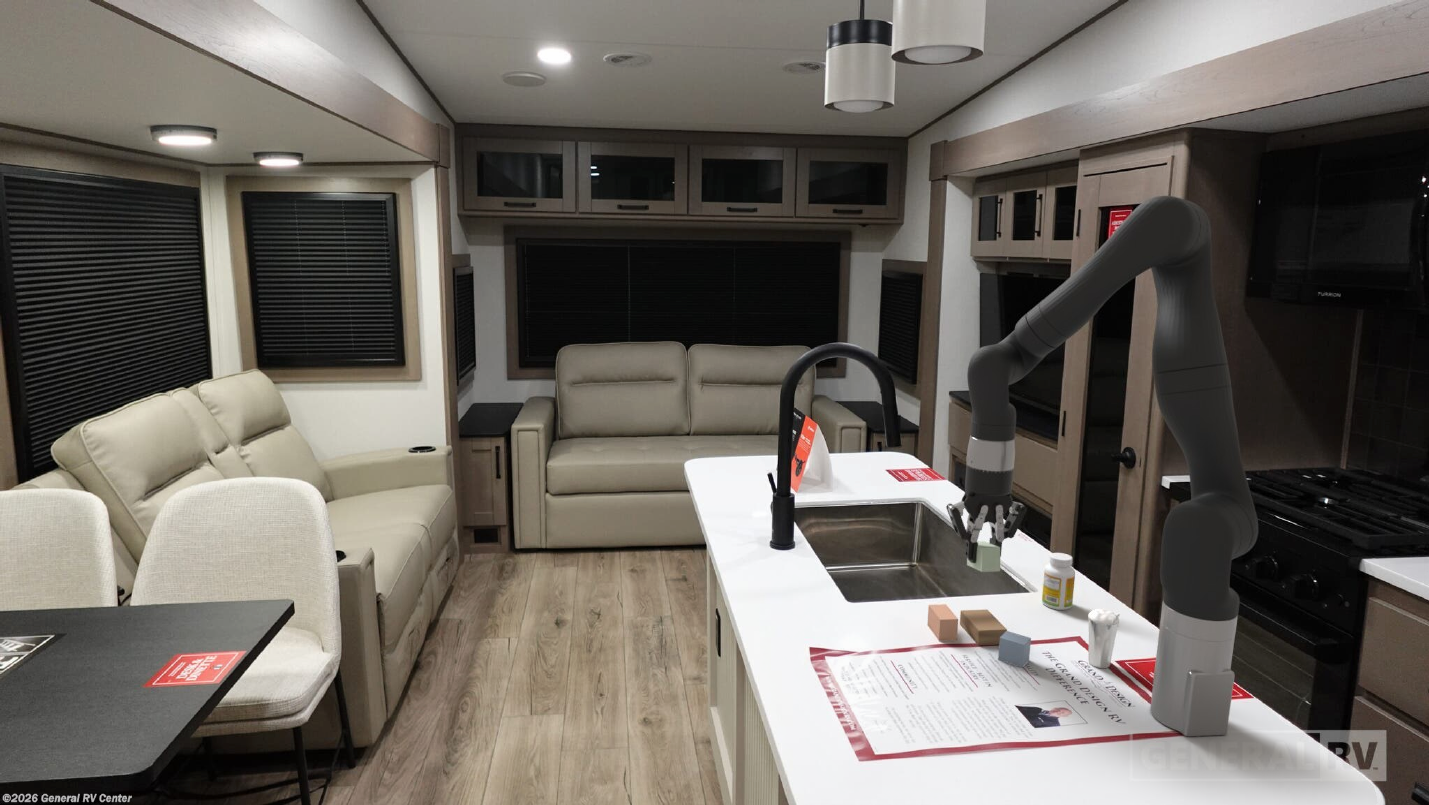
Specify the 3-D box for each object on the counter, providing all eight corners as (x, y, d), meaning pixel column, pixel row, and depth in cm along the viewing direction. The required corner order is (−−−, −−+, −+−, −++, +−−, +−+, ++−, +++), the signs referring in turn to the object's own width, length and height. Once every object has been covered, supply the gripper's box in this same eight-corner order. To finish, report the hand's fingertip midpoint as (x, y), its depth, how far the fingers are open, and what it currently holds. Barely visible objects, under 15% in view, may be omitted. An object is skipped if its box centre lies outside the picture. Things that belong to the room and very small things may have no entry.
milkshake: (1100, 674, 134) (1106, 616, 132) (1077, 658, 139) (1083, 602, 137) (1124, 671, 135) (1130, 613, 133) (1100, 655, 140) (1106, 599, 139)
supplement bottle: (1067, 599, 162) (1071, 551, 161) (1075, 611, 157) (1080, 562, 155) (1038, 598, 163) (1042, 550, 161) (1046, 610, 158) (1050, 561, 156)
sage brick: (1000, 571, 140) (1000, 547, 140) (981, 572, 140) (981, 548, 140) (984, 564, 146) (984, 541, 146) (967, 564, 146) (966, 541, 146)
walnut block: (1005, 645, 144) (1007, 629, 144) (977, 647, 144) (978, 630, 143) (986, 625, 152) (987, 609, 151) (959, 626, 152) (960, 610, 151)
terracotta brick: (956, 640, 145) (958, 619, 145) (938, 641, 145) (940, 619, 144) (944, 625, 151) (946, 604, 151) (927, 625, 151) (928, 604, 150)
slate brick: (1029, 660, 139) (1031, 638, 138) (1022, 668, 136) (1024, 645, 135) (1004, 653, 141) (1006, 630, 140) (998, 660, 139) (999, 637, 138)
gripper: (958, 470, 136) (951, 571, 139) (1041, 468, 137) (1032, 568, 140) (941, 458, 143) (934, 554, 146) (1019, 456, 144) (1011, 551, 148)
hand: (982, 560), depth 143 cm, fingers closed on sage brick, 3 cm apart
